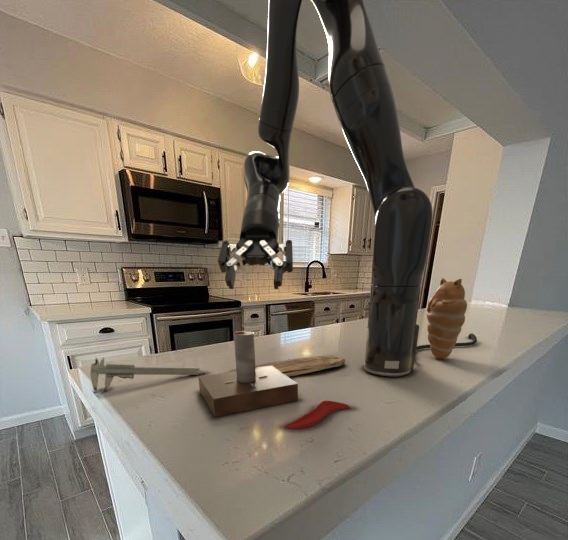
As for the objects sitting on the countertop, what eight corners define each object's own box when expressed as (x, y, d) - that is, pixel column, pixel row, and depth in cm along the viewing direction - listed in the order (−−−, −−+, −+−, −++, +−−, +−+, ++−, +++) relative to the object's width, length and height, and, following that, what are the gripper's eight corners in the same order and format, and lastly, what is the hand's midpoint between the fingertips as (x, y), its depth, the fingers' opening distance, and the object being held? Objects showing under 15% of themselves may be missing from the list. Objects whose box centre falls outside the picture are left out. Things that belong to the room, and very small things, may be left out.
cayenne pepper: (342, 402, 53) (342, 392, 52) (360, 414, 49) (360, 402, 48) (275, 418, 48) (274, 406, 47) (289, 431, 44) (288, 419, 43)
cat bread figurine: (413, 355, 78) (423, 277, 72) (438, 352, 81) (450, 276, 74) (441, 365, 70) (455, 279, 64) (468, 361, 73) (484, 278, 67)
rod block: (271, 379, 63) (271, 364, 62) (298, 400, 54) (298, 382, 53) (200, 392, 58) (198, 375, 56) (215, 417, 48) (213, 398, 47)
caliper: (94, 393, 58) (86, 359, 56) (94, 391, 59) (86, 358, 56) (205, 373, 67) (202, 344, 65) (204, 372, 68) (201, 343, 66)
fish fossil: (242, 387, 59) (241, 381, 59) (225, 375, 68) (224, 370, 68) (352, 363, 70) (352, 358, 70) (325, 356, 79) (325, 351, 79)
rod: (252, 375, 57) (249, 328, 54) (258, 381, 54) (256, 332, 51) (234, 378, 55) (231, 330, 52) (240, 384, 53) (237, 334, 50)
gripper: (222, 208, 63) (210, 271, 57) (294, 207, 62) (290, 271, 56) (230, 239, 70) (220, 299, 64) (295, 238, 69) (292, 299, 62)
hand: (253, 286), depth 60 cm, fingers open, 8 cm apart
